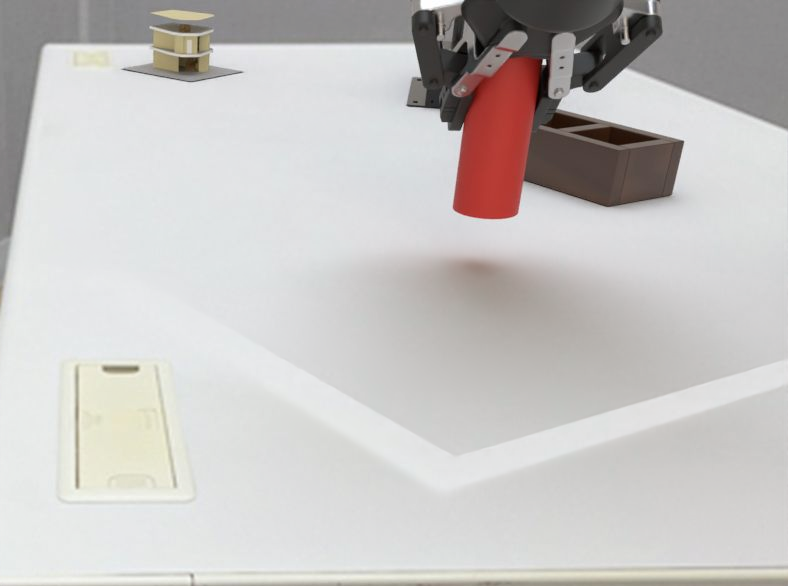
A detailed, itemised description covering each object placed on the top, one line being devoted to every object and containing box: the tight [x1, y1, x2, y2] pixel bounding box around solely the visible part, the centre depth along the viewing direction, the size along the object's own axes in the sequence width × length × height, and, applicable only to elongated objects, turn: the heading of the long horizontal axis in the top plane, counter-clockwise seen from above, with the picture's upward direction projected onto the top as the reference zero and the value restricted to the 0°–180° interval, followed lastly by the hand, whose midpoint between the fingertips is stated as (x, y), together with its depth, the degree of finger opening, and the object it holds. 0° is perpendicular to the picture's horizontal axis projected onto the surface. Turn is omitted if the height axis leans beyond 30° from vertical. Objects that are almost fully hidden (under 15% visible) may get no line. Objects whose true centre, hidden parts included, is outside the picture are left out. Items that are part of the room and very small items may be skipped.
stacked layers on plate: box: [120, 9, 244, 82], centre depth 130 cm, size 10×9×6 cm
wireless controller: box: [406, 15, 466, 109], centre depth 121 cm, size 20×14×17 cm
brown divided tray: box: [523, 108, 685, 207], centre depth 94 cm, size 7×13×4 cm, turn 32°
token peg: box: [452, 57, 544, 220], centre depth 72 cm, size 4×4×10 cm
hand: (490, 117), depth 73 cm, fingers closed on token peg, 4 cm apart
